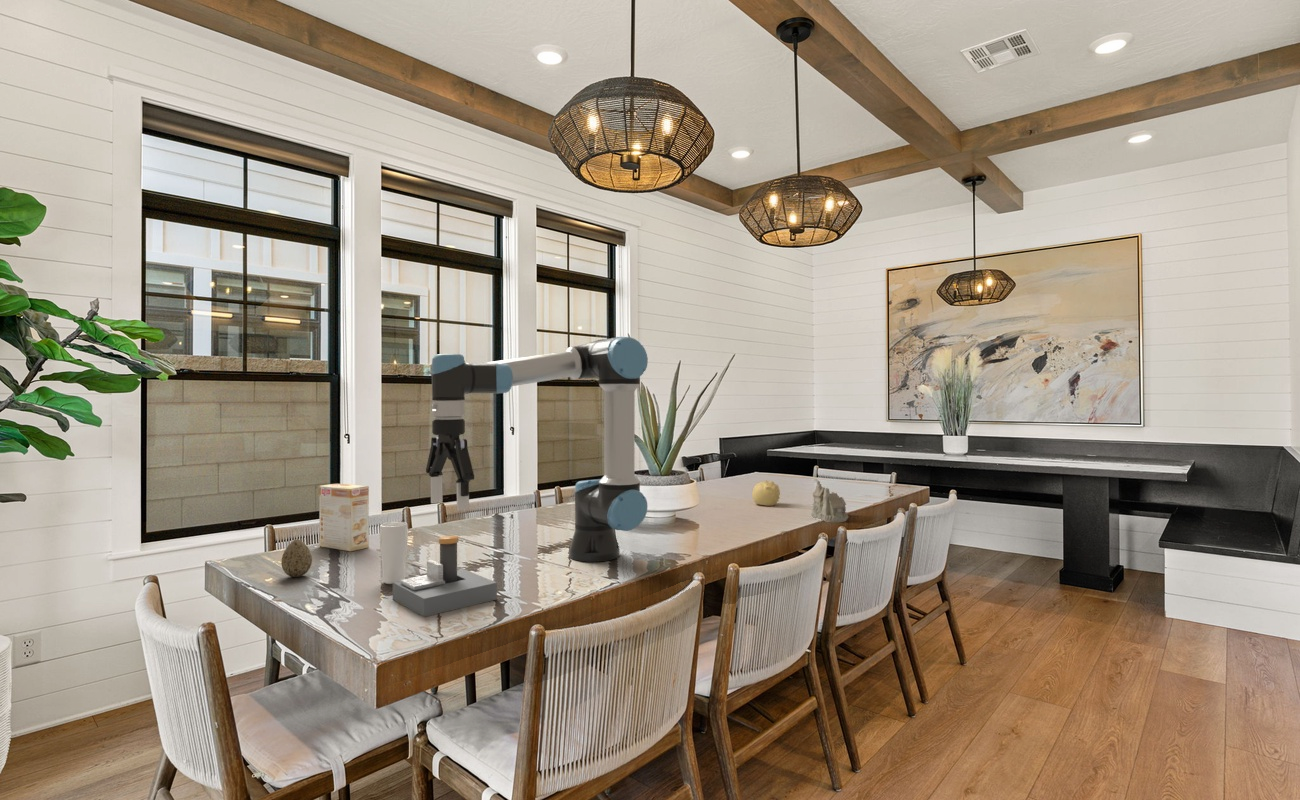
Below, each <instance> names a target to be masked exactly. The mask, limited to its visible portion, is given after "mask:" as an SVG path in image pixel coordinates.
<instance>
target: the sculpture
mask: <svg viewBox="0 0 1300 800" xmlns="http://www.w3.org/2000/svg"><path fill="white" fill-rule="evenodd" d="M751 494H752V495H751V496H752V500H753V502H754V503H755V504H756V505H761V506H766V507H773V506H775V505H777V504H778V502H779V500H780V498H781V497H780V496H781V491H780V487H779V485H778V484H776V483H775V482H774V481H772V480H771V481H770V480H765V481H760V482H758V483H756V484H755V485H754V487H753V489H752V493H751Z"/></svg>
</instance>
